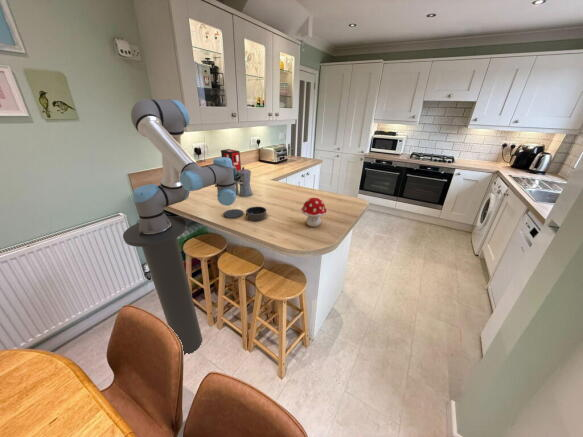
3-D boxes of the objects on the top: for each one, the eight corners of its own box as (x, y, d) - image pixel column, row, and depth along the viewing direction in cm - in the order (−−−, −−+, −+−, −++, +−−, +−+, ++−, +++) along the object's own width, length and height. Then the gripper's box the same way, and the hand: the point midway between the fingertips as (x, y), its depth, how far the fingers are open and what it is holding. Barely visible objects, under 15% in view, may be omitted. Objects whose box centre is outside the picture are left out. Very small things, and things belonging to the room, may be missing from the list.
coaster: (232, 220, 130) (232, 218, 129) (220, 215, 136) (219, 213, 135) (247, 213, 138) (246, 212, 137) (234, 209, 144) (234, 207, 143)
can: (230, 197, 126) (227, 169, 119) (221, 194, 130) (217, 167, 124) (241, 193, 132) (239, 166, 125) (232, 191, 136) (229, 164, 129)
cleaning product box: (223, 171, 225) (220, 150, 216) (231, 169, 231) (228, 149, 222) (233, 174, 215) (231, 152, 206) (241, 172, 221) (239, 151, 212)
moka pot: (239, 198, 160) (236, 169, 151) (237, 191, 173) (235, 164, 164) (253, 197, 162) (251, 168, 153) (250, 190, 175) (248, 163, 167)
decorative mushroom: (331, 223, 126) (333, 197, 120) (316, 233, 117) (317, 205, 110) (311, 216, 135) (312, 191, 128) (295, 224, 125) (295, 198, 119)
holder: (256, 223, 127) (256, 216, 125) (242, 217, 133) (241, 211, 131) (271, 216, 135) (270, 209, 133) (256, 211, 141) (256, 204, 140)
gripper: (206, 196, 111) (212, 182, 131) (250, 193, 114) (249, 180, 134) (204, 180, 107) (210, 169, 128) (249, 178, 111) (248, 167, 131)
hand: (230, 174), depth 131 cm, fingers closed on can, 8 cm apart
